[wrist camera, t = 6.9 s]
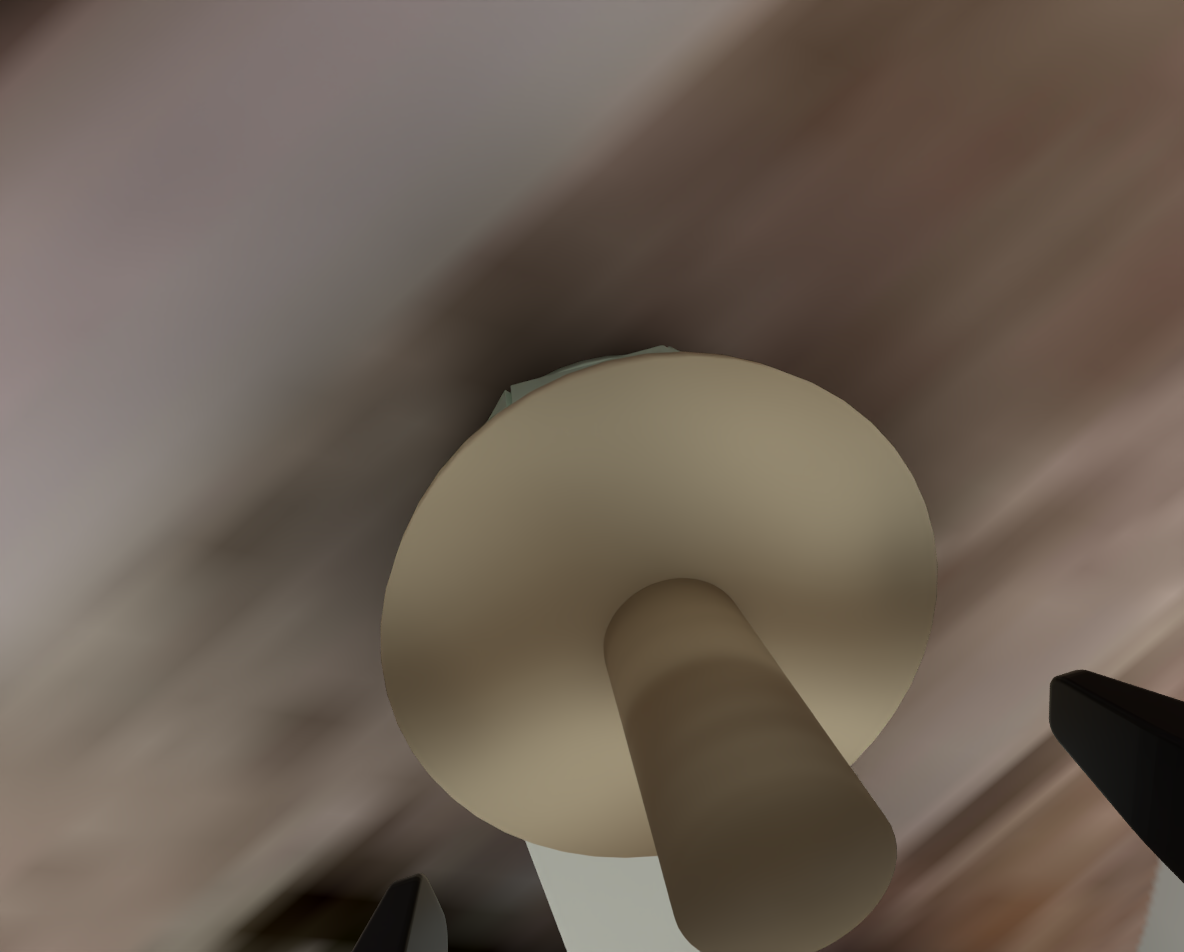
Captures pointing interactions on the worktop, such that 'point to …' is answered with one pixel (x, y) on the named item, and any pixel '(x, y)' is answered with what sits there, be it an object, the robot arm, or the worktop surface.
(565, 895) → the mat
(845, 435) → the lid
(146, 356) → the worktop surface
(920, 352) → the worktop surface
